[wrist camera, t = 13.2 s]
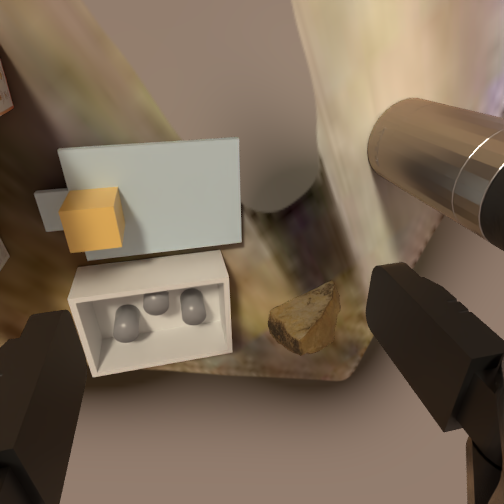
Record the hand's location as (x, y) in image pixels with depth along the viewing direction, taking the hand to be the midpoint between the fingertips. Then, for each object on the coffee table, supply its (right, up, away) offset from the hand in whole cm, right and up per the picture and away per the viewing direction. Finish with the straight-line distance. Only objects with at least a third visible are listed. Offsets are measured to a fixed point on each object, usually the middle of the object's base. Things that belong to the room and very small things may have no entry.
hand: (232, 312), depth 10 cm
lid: (-11, +7, +29) cm, 32 cm away
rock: (+7, -6, +42) cm, 43 cm away
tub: (-11, -4, +36) cm, 37 cm away
